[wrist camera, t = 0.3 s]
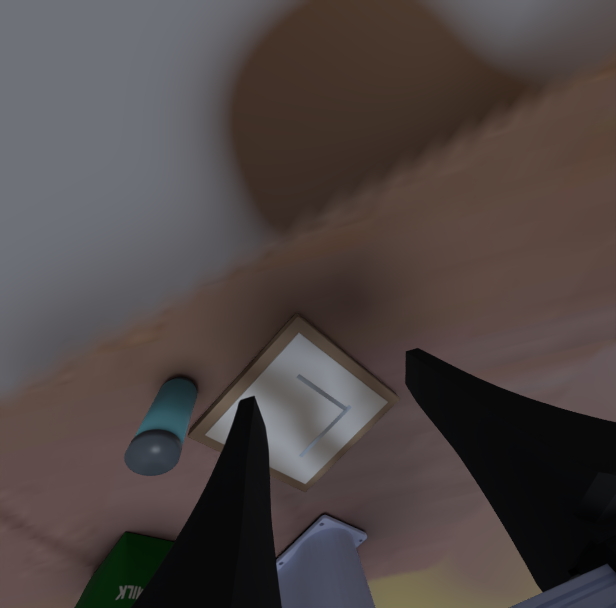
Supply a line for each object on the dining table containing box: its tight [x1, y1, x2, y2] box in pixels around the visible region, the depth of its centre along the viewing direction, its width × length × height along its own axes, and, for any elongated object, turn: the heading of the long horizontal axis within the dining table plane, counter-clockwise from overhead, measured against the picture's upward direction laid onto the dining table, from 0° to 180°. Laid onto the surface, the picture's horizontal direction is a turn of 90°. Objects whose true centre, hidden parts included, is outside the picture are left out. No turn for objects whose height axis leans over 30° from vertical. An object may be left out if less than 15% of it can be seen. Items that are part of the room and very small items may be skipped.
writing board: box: [188, 313, 400, 492], centre depth 24 cm, size 14×14×1 cm
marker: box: [124, 377, 197, 476], centre depth 18 cm, size 3×3×6 cm
